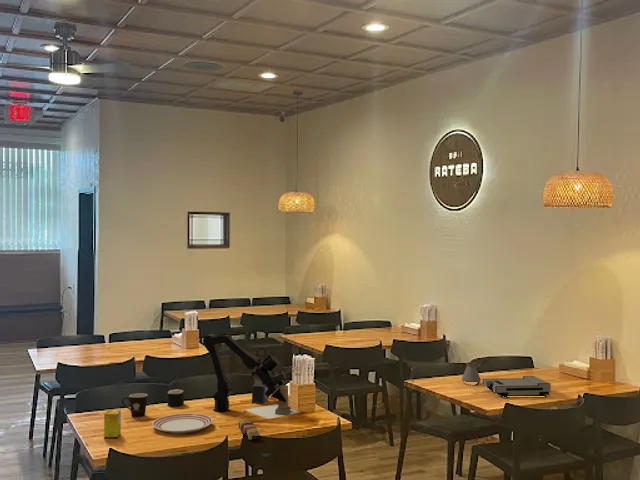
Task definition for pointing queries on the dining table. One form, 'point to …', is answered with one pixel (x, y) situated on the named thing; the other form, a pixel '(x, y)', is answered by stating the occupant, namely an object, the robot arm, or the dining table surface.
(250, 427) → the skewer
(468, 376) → the coffee pot
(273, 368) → the robot arm
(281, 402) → the block
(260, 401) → the small box
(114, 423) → the supplement box
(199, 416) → the dinner plate
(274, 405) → the board
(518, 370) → the dining table surface
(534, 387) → the game console
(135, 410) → the coffee mug
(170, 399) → the sushi
